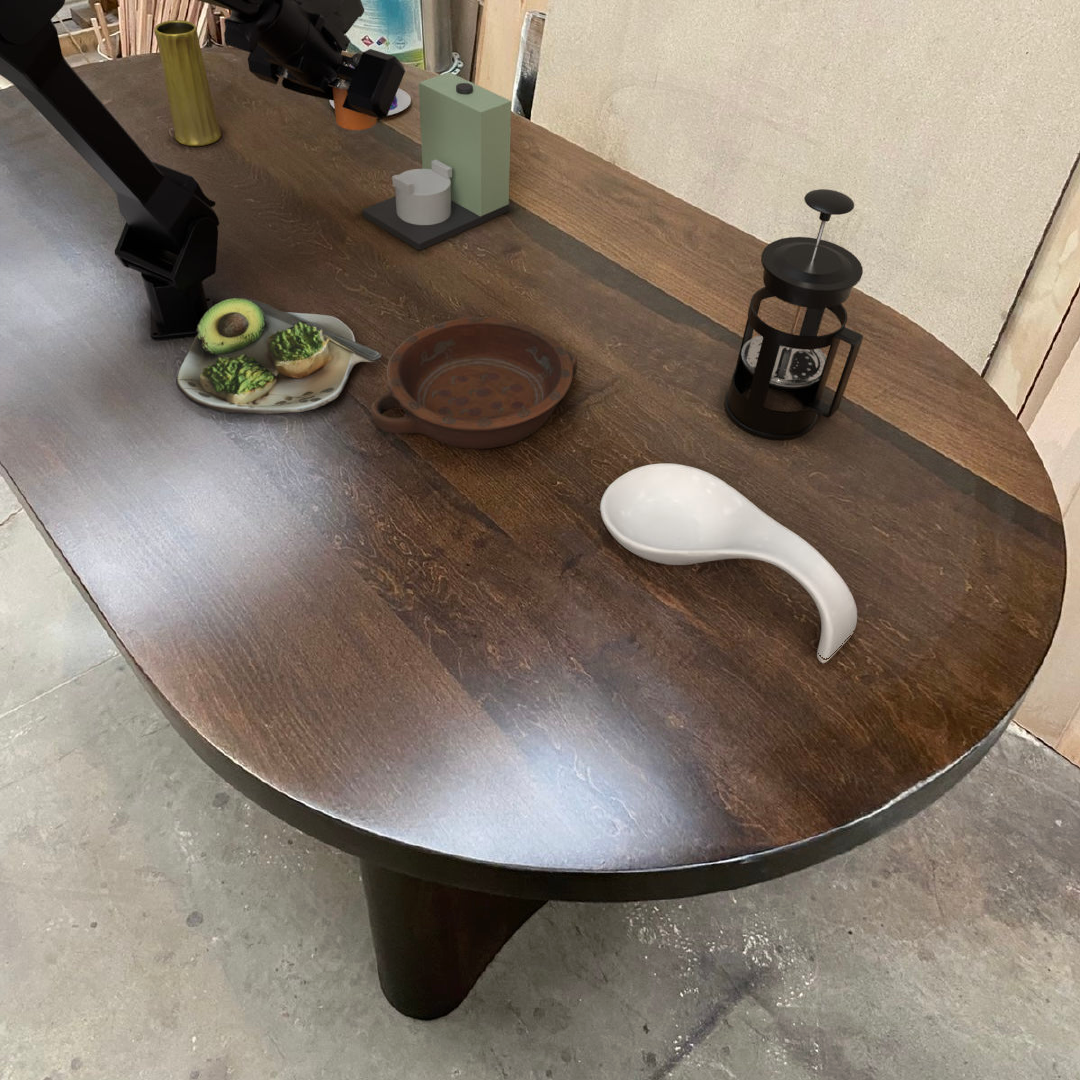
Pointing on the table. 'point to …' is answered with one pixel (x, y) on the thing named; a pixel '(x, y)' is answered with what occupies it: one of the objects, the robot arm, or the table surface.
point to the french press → (794, 360)
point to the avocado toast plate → (268, 359)
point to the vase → (187, 83)
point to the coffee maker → (451, 165)
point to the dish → (475, 382)
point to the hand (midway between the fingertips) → (362, 104)
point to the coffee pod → (349, 112)
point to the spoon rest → (720, 536)
